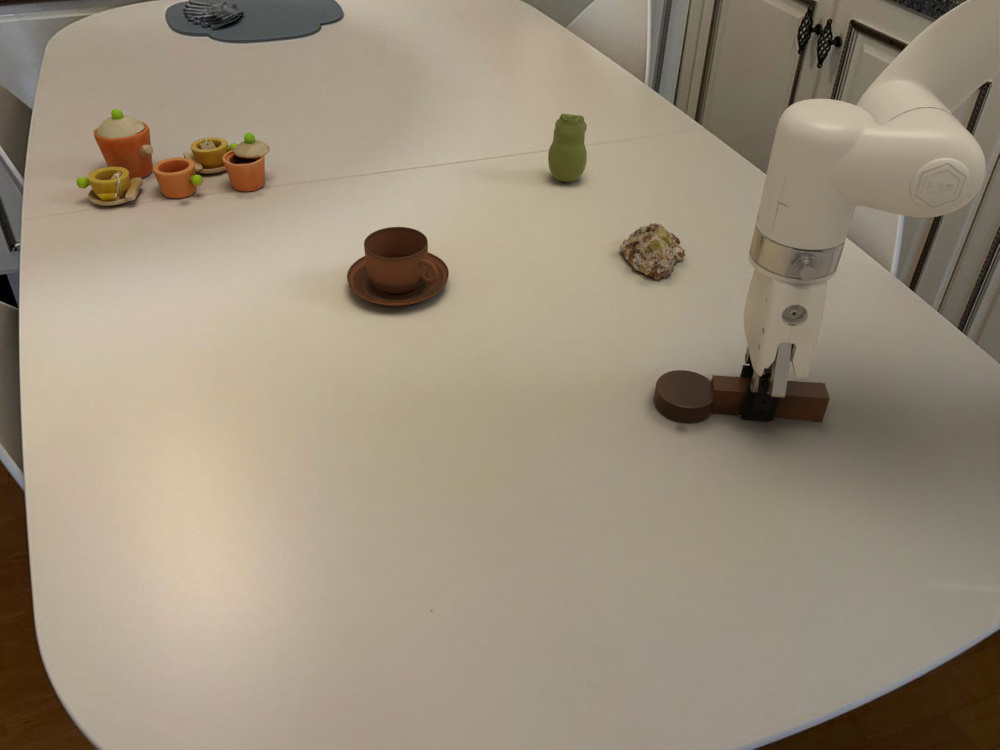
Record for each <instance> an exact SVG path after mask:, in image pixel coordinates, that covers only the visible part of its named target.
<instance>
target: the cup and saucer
mask: <svg viewBox="0 0 1000 750" xmlns="http://www.w3.org/2000/svg"><path fill="white" fill-rule="evenodd" d="M363 249H364V250H363V251H364V256H362V257H360V258H358V259H357V260H356V261H354V262H353V264H351V265H350V266H349V268H348V270H347V273H346V280H347V284H348V286H349V288H350V289H351V291H352V292H353V293H354V294H355V295H356V296H359V297H360V298H362V299H363V300H366V301H367V302H370V303H372V304H377V305H379V306H381V305H382V306H387V307H388V306H389V307H402V306H410V305H415V304H418V303H422V302H425V301H426V300H428V299H429V300H430V299H431V298H433V297H434V296H435V295H437V294H438V293H439V292H440V291H442V290H443V289H444V287H445V286H446V285H447V283H448V280H449V275H450V274H449V273H450V272H449V268H448V265H447V264H446V263H445V261H444V260H443V259H442V258H440V257H439V256H437V255H436V254H433V253H431V252H429V241H428V238H427V236H426V235H425V234H424V233H423V232H421V231H420V230H418V229H415V228H411V227H407V226H406V227H405V226H390V227H384V228H380V229H378V230H374V231H372V232H371V233H370V234H368V235H367V237H366V238H365V239H364V241H363Z"/></svg>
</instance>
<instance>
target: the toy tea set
mask: <svg viewBox="0 0 1000 750" xmlns="http://www.w3.org/2000/svg"><path fill="white" fill-rule="evenodd" d="M110 115H111V116H109V117H108V118H106V119H104V121H102V122H101V123H100V124H99V126H98V127H96V128H95V129H94V130H93V138H94V140H95V143H96V144H97V146H98V148H99V151H100V153H101V154H102V157H103V159H104V160H105V163H106V165H107V166H105V167H100V168H98V169H94V170H92V171H91V172H90V173H88V175H87V178H86V177H85V176H79V177H78V178H77V179H76V186H77V188H80V189H87V188H88V187H89V186H90V187H91V189H90V190H89V192H88V193H87V197H88V200H89V201H90V202H91V203H92V204H94V205H98V206H107V207H108V206H118V205H122V204H125V203H129V202H131V201H134V200H136V198H137V196H138V195H139V193H140V188H141V187H143V185H144V180H143V178H145V177H148V176H149V175H151V173H152V172H153V174H154V177H155V179H156V181H157V184H158V186H159V188H160V191H161V193H162V194H163V196H165V197H166V198H169V199H183V198H184V199H185V198H187V197H190V196H191V195H194V193H195V192H196V190H197V187H199V186H201V185H203V183H204V178H203V177H202V176H201V175H200V174H206V175H207V174H218V173H222V172H225V171H226V173H227V177H228V178H229V181H230V185H231V186H232V188H233V189H234V190H236V191H238V192H254V191H257V190H259V189H261V188H262V187H263V186H264V185H265V183H266V175H265V174H266V172H265V170H266V169H265V168H266V165H265V164H266V163H265V162H266V161H265V160H266V159H265V158H266V155H268V153H269V152H271V151H270V150H271V148H270V146H269V144H267V143H266V142H264V141H261V140H258V139H256V136H255V135H254V133H252V132H246V133H245V134H244V136H243V141H241V142H239V143H236V142H234V143H230V144H229V143H228V141H227V139H224V138H222V137H215V136H211V137H206V136H203V137H202V138H200V139H197V140H195V141H193V142H192V143H191V144H190V146H189V148H190V150H191V151H184V152H183V157H171V158H170V157H169V158H166V159H162V160H160V161H157V162H156V163H155V164H154V165H153V155H152V154H153V153H154V148H153V146H152V143H151V130H150V127H149V125H148V124H147V123H146V122H144V121H141V120H140V119H138V118H136V117H133V116H130V115H126V114H123V111H122V110H121V109H119V108H114V109H112V110H111V113H110ZM196 173H197V174H196ZM198 173H199V174H198Z"/></svg>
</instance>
